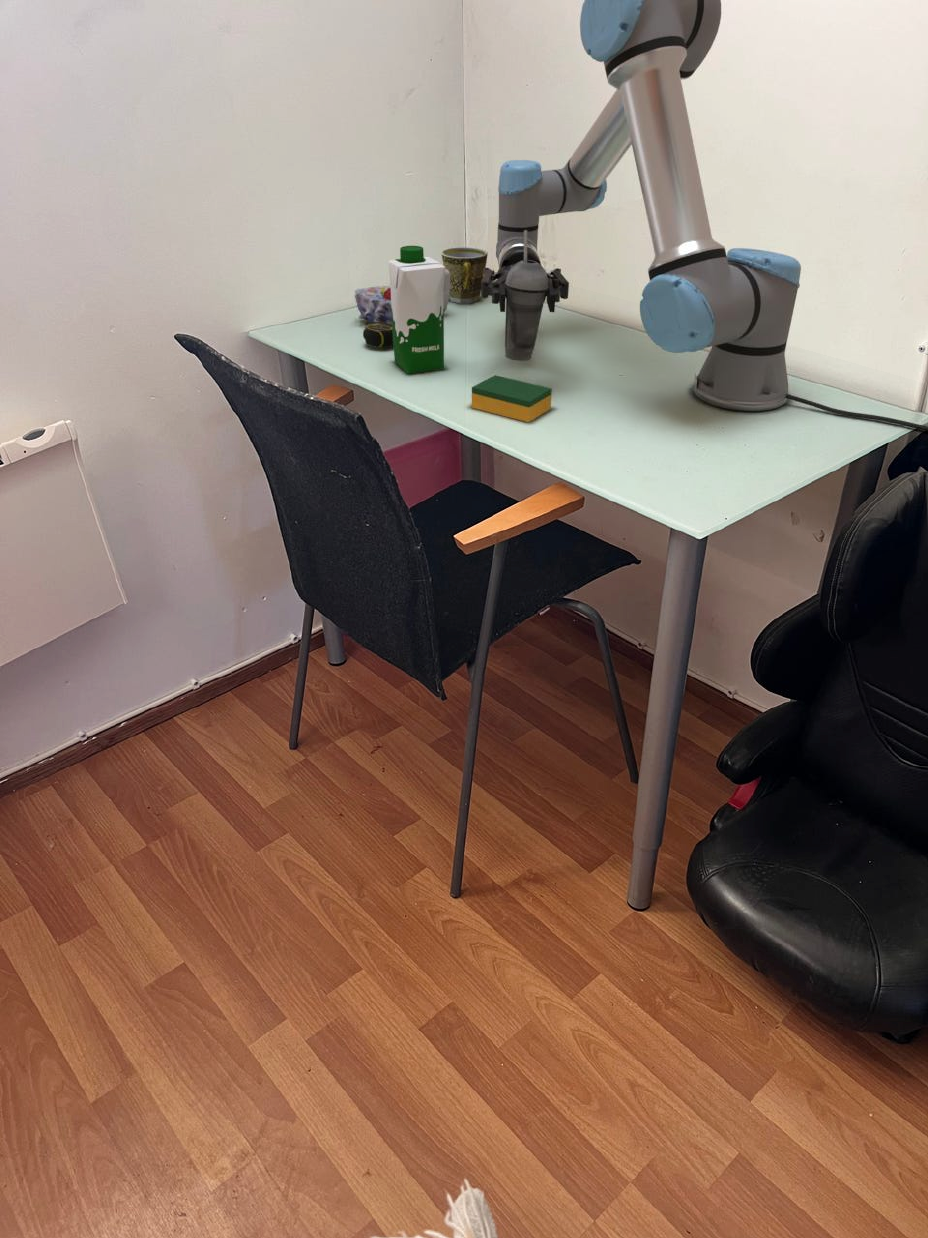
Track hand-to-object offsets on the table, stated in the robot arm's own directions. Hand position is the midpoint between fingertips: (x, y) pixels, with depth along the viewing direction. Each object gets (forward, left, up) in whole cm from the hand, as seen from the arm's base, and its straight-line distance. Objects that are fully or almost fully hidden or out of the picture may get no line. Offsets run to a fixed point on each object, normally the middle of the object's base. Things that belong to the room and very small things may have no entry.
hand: (527, 303), depth 146 cm
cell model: (+39, -30, -16) cm, 52 cm away
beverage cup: (+3, -3, -10) cm, 11 cm away
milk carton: (+23, -6, -16) cm, 29 cm away
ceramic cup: (+33, -48, -16) cm, 61 cm away
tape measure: (+35, -14, -16) cm, 41 cm away
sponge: (0, +6, -16) cm, 16 cm away
